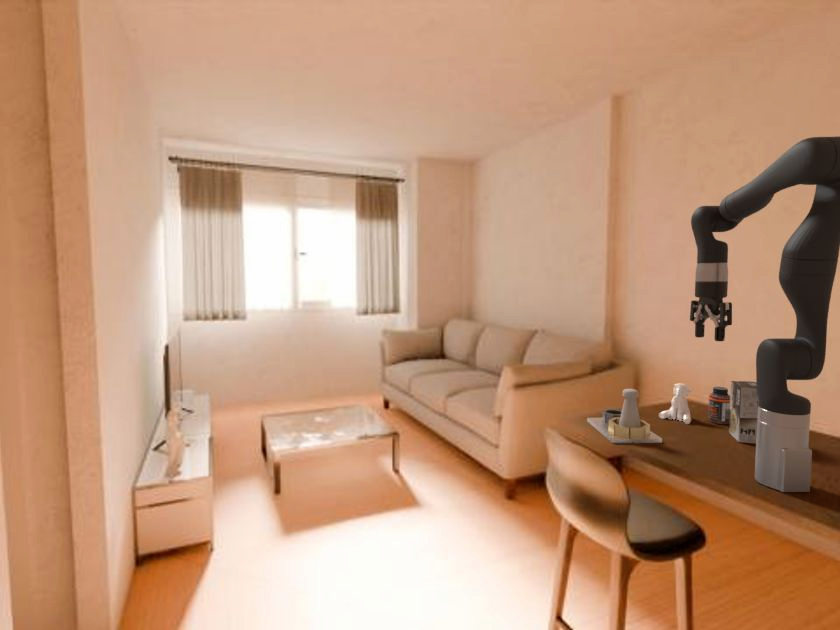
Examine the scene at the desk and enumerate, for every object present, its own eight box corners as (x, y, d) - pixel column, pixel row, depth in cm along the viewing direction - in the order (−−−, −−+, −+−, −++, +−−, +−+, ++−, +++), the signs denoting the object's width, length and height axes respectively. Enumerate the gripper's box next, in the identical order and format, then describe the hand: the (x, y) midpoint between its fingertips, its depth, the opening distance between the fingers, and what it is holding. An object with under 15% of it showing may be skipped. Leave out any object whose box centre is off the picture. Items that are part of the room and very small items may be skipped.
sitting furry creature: (657, 418, 152) (659, 383, 151) (667, 413, 158) (668, 379, 157) (689, 424, 145) (690, 387, 144) (698, 419, 151) (699, 383, 150)
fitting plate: (662, 442, 130) (662, 428, 130) (612, 443, 130) (613, 428, 130) (629, 420, 150) (630, 408, 149) (587, 421, 150) (587, 408, 149)
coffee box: (764, 445, 128) (767, 388, 126) (737, 442, 130) (740, 386, 128) (752, 434, 136) (755, 381, 135) (727, 432, 138) (730, 379, 137)
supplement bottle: (703, 420, 150) (704, 386, 149) (717, 418, 152) (718, 385, 151) (720, 425, 144) (721, 390, 143) (734, 423, 146) (736, 389, 145)
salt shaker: (642, 436, 132) (643, 392, 131) (621, 435, 133) (622, 391, 132) (637, 429, 137) (638, 387, 136) (616, 428, 139) (618, 386, 137)
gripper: (743, 280, 117) (740, 342, 118) (708, 280, 131) (706, 335, 133) (714, 280, 117) (712, 342, 118) (682, 280, 131) (680, 336, 133)
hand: (709, 339), depth 125 cm, fingers open, 8 cm apart
